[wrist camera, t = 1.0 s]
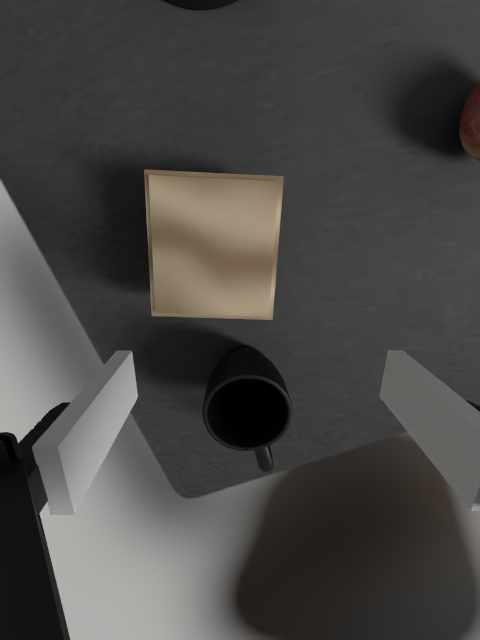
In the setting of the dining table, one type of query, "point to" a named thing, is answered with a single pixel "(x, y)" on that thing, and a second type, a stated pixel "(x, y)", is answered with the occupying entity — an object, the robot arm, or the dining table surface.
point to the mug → (247, 404)
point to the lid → (212, 243)
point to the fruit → (471, 124)
